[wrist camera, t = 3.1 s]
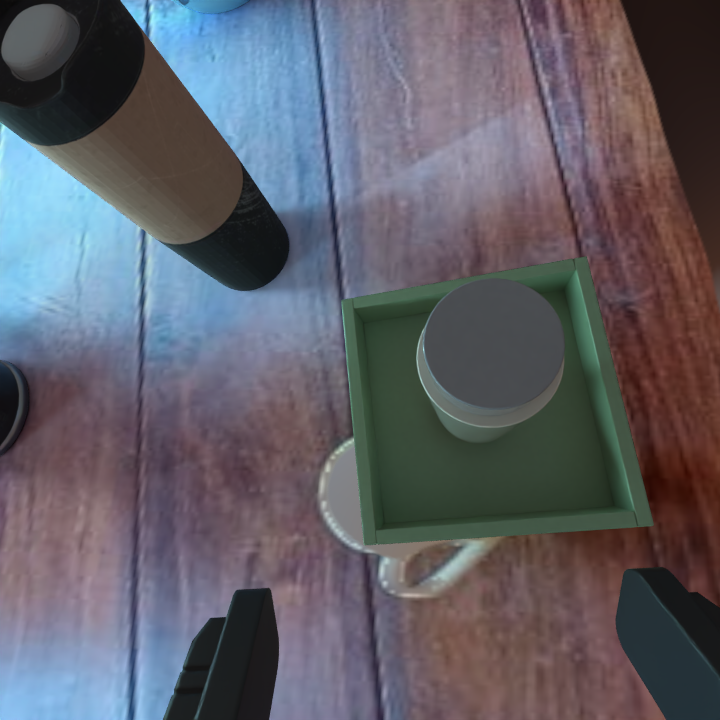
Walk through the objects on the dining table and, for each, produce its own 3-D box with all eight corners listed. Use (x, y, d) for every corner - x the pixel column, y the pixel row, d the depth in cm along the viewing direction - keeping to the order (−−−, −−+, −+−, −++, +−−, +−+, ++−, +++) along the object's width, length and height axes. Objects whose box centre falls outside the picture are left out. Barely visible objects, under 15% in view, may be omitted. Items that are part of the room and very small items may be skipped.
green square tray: (375, 535, 29) (363, 545, 26) (354, 317, 33) (341, 299, 30) (628, 517, 26) (654, 526, 23) (571, 280, 30) (586, 255, 27)
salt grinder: (422, 418, 30) (381, 370, 15) (460, 353, 30) (459, 242, 15) (491, 459, 28) (528, 455, 13) (531, 391, 29) (610, 309, 13)
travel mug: (235, 200, 38) (11, -60, 19) (308, 225, 36) (137, -41, 17) (194, 277, 37) (-84, 83, 18) (266, 307, 35) (36, 123, 16)
